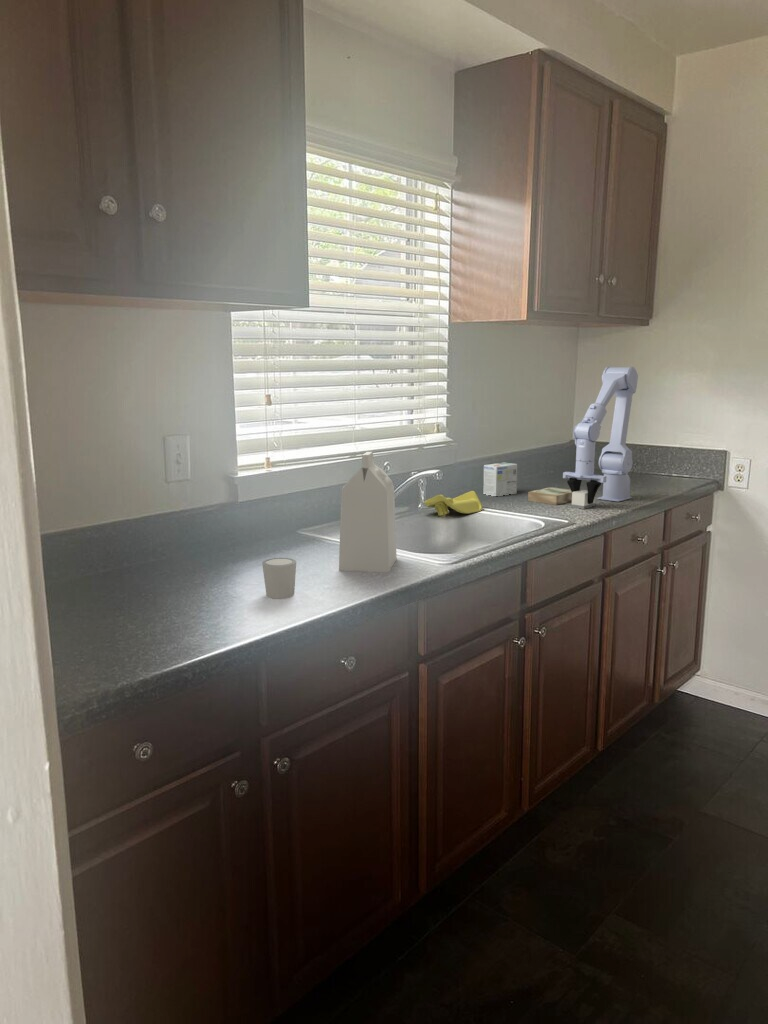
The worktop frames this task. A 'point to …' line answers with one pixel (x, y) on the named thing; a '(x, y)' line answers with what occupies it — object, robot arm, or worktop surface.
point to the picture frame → (550, 495)
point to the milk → (368, 520)
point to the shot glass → (279, 577)
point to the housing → (581, 499)
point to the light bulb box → (500, 479)
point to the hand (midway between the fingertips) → (583, 502)
